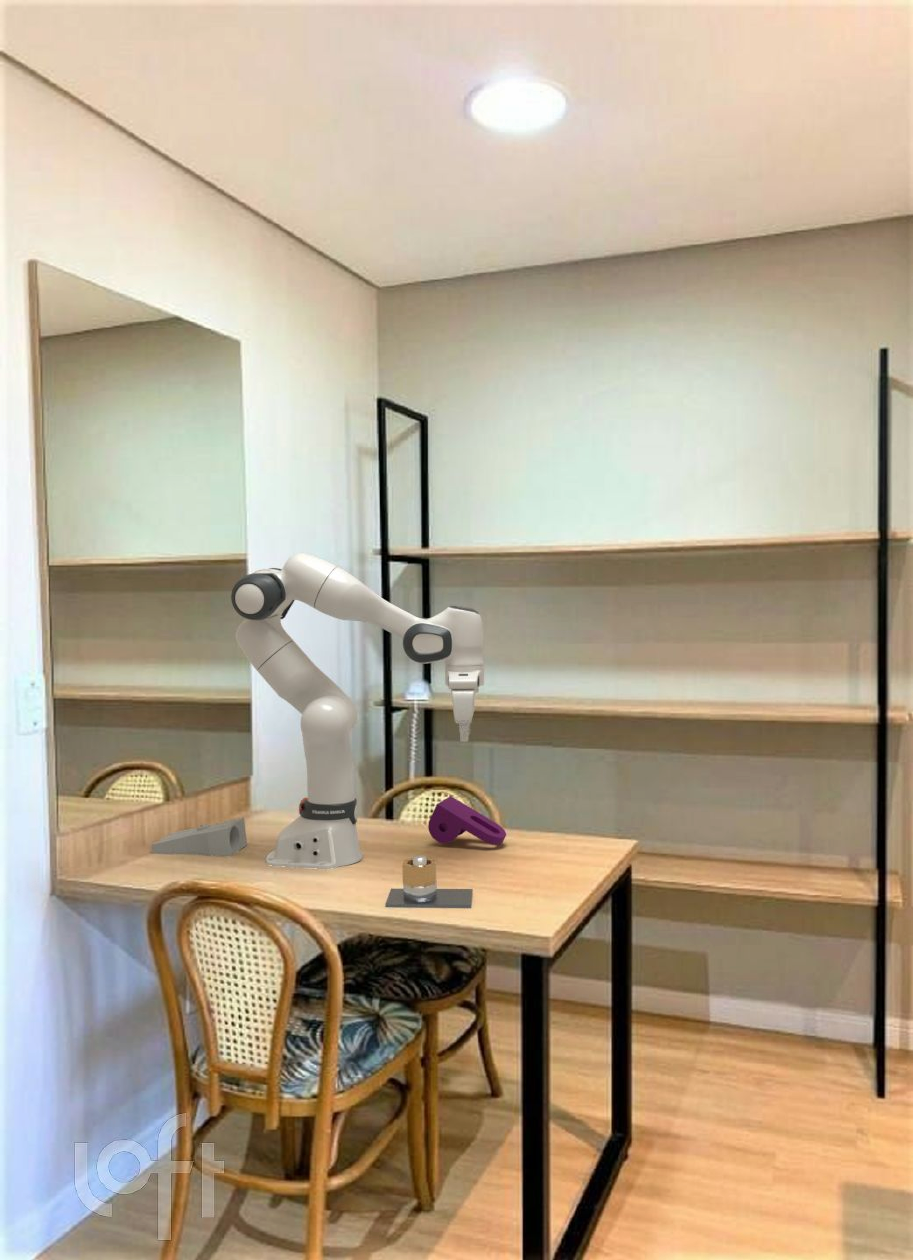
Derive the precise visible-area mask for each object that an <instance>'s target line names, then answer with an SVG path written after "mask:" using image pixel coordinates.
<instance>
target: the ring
mask: <svg viewBox="0 0 913 1260" xmlns="http://www.w3.org/2000/svg"><path fill="white" fill-rule="evenodd" d="M436 881H437V860H435V859H434V858H433V859H432V858H430V857H427V865H424V866H413V857H411V858H408V859H404V860H403V862H402V885H403V884H405V885H408V886H411V887H426V886H430V885H433V884H436Z"/></svg>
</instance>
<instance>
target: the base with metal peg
mask: <svg viewBox="0 0 913 1260" xmlns="http://www.w3.org/2000/svg"><path fill="white" fill-rule="evenodd" d="M412 858H413V866H424V865H427V858H428V857H427V856H425V855H414V856H412ZM437 885H438V883H437V880H436V884H433V885H430V886H426V887H411V886H408V885H405V884H403V883H402V888H390V891H389V893H388V896H387V898H386V902H385V904H384V905H385V906H384V907H385V908H408V909H409V908H411V909H412V908H414V909H415V908H417V909H418V908H419V909H420V908H423V909H424V908H425V909H472V903H473V895H474V893H473V892H474V890H473V888H437Z"/></svg>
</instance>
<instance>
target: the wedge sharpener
mask: <svg viewBox="0 0 913 1260" xmlns="http://www.w3.org/2000/svg"><path fill="white" fill-rule="evenodd" d="M245 821H246V820H245V816H244V817H240V818H235V819H229V820H226V821H222V822H218V823H214V824H207V823H205V824H201V825H199V826H197V827H195V828H189V829H183V830H179V831H174V832H173V831H172V832H170V833H169V834H168V835H167V836H165V837H163V838H161V839H160V840H159V841H156V842H154V843H151V852H152V853H151V854H154V855H155V854H158V855H159V854H160V855H199V856H200V855H202V856H208V857H209V856H210V857H226V856H230V857H232V856H233V855H235V854H237V853H238V852H239V850H240V849H241V848H242V849H244V848H246V847H247V846H248V842H247V841H248V840H247V833H246V832H247V831H246V823H245ZM243 847H244V848H243ZM242 849H241V850H242ZM241 850H240V851H241ZM237 851H238V852H237ZM236 852H237V853H236ZM232 854H233V855H232ZM211 855H213V856H211ZM217 855H218V856H217ZM231 855H232V856H231Z"/></svg>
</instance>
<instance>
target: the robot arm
mask: <svg viewBox="0 0 913 1260" xmlns="http://www.w3.org/2000/svg"><path fill="white" fill-rule="evenodd" d="M230 595H231V596H230V600H231V604H232V607H233V609H234V610H235V611H236V613H237V614H238V615H240V616H241V617H242V618H243V619H244V620H242V622H241V623H240V624H239V625H238V627H237V628H236V631H235V640H236V642H237V644H238V646H239V648H240V649H241V651H242V652H243V654H244V656H245V657H246V659H247V660H248V662H249V663H250V665H252V666H253V668H254V669H255V670H256V671H257V673H258V674H259V675H260V676H261V677H262V679H263V680H264V681H265V682H266V683H267V684H268V685H269V686H270V688H271V689H272V690H273V691H274V692H275V693H276V695H277V696H278V697H280V699H283V700H284V701H286V702H287V703H288V704H290V706H292V707H293V708H295V710H296V711H298V713H300V714H301V717H300V729H301V734H302V743H303V751H304V756H305V764H306V777H307V778H306V784H307V785H306V786H307V791H306V792H307V797H303V798H302V799H301V800H300V803H299V804H298V805H299V806H298V813H299V814H298V815H299V816H298V817H297V818H295V819H294V821H292V822H290V824H288V825H287V826H286V827H284V829H282V830H281V831H280V832H279V834H278V835H277V839H276V843H275V847H274V848H275V849H274V850H272V851H270V852H269V853H268V854H267V856H266V857H265V864H266V863H267V864H268V865H272V866H271V867H274V866H285V867H284V868H289V867H294V868H293V869H304V868H317V869H316V870H320V869H329V870H332V869H331V868H333V869H336V868H339V867H344V866H349V865H352V864H355V863H358V862H360V861H361V860H362V859H363V857H364V856H363V854H362V850H361V846H360V842H359V837H358V830H357V829H358V828H357V821H358V804H357V803H358V802H357V797H356V796H355V795H356V793H355V791H356V790H355V786H356V785H355V764H354V760H353V754H352V753H353V752H352V751H353V750H352V744H351V730H353V728H354V726H355V725H356V723H357V718H358V711H357V706H356V703H355V702H354V701H353V699H352V698H351V697H350V696H348V694H346V693H345V692H344V690H343V689H341V688H340V687H339V686H338V685H337V684H336V683H335V682H334V681H333V680H332V679H331V678H330V677H329V676H328V675H327V674H325V673H324V672H323V671H322V670H321V669H320V668H319V667H317V665H316V664H315V663H314V662H313V661H312V660H311V658H310V657H309V656H308V655H307V654H306V653H305V652H304V651H303V650H302V648H301V647H300V646H299V645H298V644H297V643H296V642H295V640H294V639H293V638H292V637H291V636H290V635H289V634H288V633H287V631H286V630H285V629H284V627H283V625H282V621H281V620H284V619H285V618H286V616H287V614H288V612H289V611H290V609H291V607H292V606H293V605H294V602H295V601H299V602H301V603H304V604H306V605H308V606H309V607H311V608H313V609H314V610H317V611H318V612H320V613H323V614H324V615H326V616H329V617H332V618H335V619H338V620H341V621H348V622H349V621H353V622H362V623H363V622H364V623H368V624H372V625H375V626H377V627H379V628H381V629H383V630H385V631H387V632H389V633H391V634H392V635H394V636H396V637H398V638H400V639H402V646H403V650H404V652H405V655H406V656H407V657H408V658H409V659H410V660H412V662H415V663H418V664H431V663H434V662H437V661H444V669H445V670H444V674H445V675H444V678H445V679H444V682H445V683H444V684H445V686H446V687H448V689H449V690H450V693H451V703H452V710H453V717H454V718H453V719H454V722H455V724H458V728H459V729H458V730H459V740H460V742H461V743H467V742H469V735H470V734H471V723H472V721H473V716H474V712H475V695H476V693H479V687H481V686H484V685H485V667H484V666H485V663H484V658H483V648H484V627H483V621H482V616H481V614H480V613H479V611H477V610H476V609H474V608H471V607H466V606H459V605H450V606H447V608H446V609H444V610H443V611H441V612H440V613H438V614H435V615H434V616H432V617H428V618H427V617H420V616H418V615H416V614H413V613H411V612H409V611H407V610H405V609H403V608H401V607H399V606H397V605H395V604H393V603H392V602H389V601H388V600H386V599H384V598H382V596H379V594H377V593H376V592H374V591H373V590H372V589H371V588H370V587H368V586H367V585H366V584H364V582H361V581H360V580H359V579H358V578H357V577H355V576H354V575H352V574H350V572H348V571H346V570H344V569H342V568H341V567H339V566H337V565H336V564H333V563H331V562H329V561H327V560H325V559H322V558H320V557H317V556H314V555H312V554H309V553H304V552H298V553H295V554H293V555H291V556H290V557H288V559H287V560H286V562H285V563H284V565H283V567H282V568H278V567H277V568H276V567H270V568H266V569H265V568H262V569H259V570H256V571H254V572H252V573H248V574H246V575H244V576H243V577H241V578H240V579H238V581H237V582H236V583H235V584H234V585H233V587H232V590H231V594H230ZM267 864H266V865H267ZM268 865H267V866H268ZM296 867H297V868H296Z"/></svg>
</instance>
